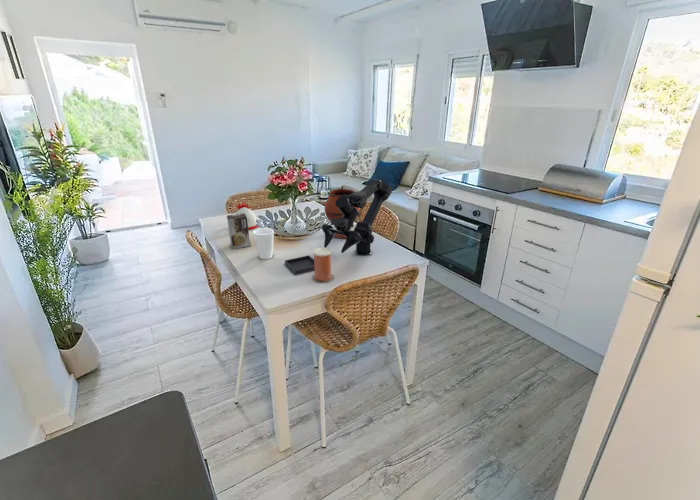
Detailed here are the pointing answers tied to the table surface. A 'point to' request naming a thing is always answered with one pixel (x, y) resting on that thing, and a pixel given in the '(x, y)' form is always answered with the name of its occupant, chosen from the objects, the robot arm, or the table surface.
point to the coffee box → (238, 230)
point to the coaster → (322, 280)
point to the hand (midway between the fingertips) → (333, 250)
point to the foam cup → (264, 242)
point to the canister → (322, 263)
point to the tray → (300, 264)
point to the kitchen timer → (248, 215)
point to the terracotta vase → (332, 209)
